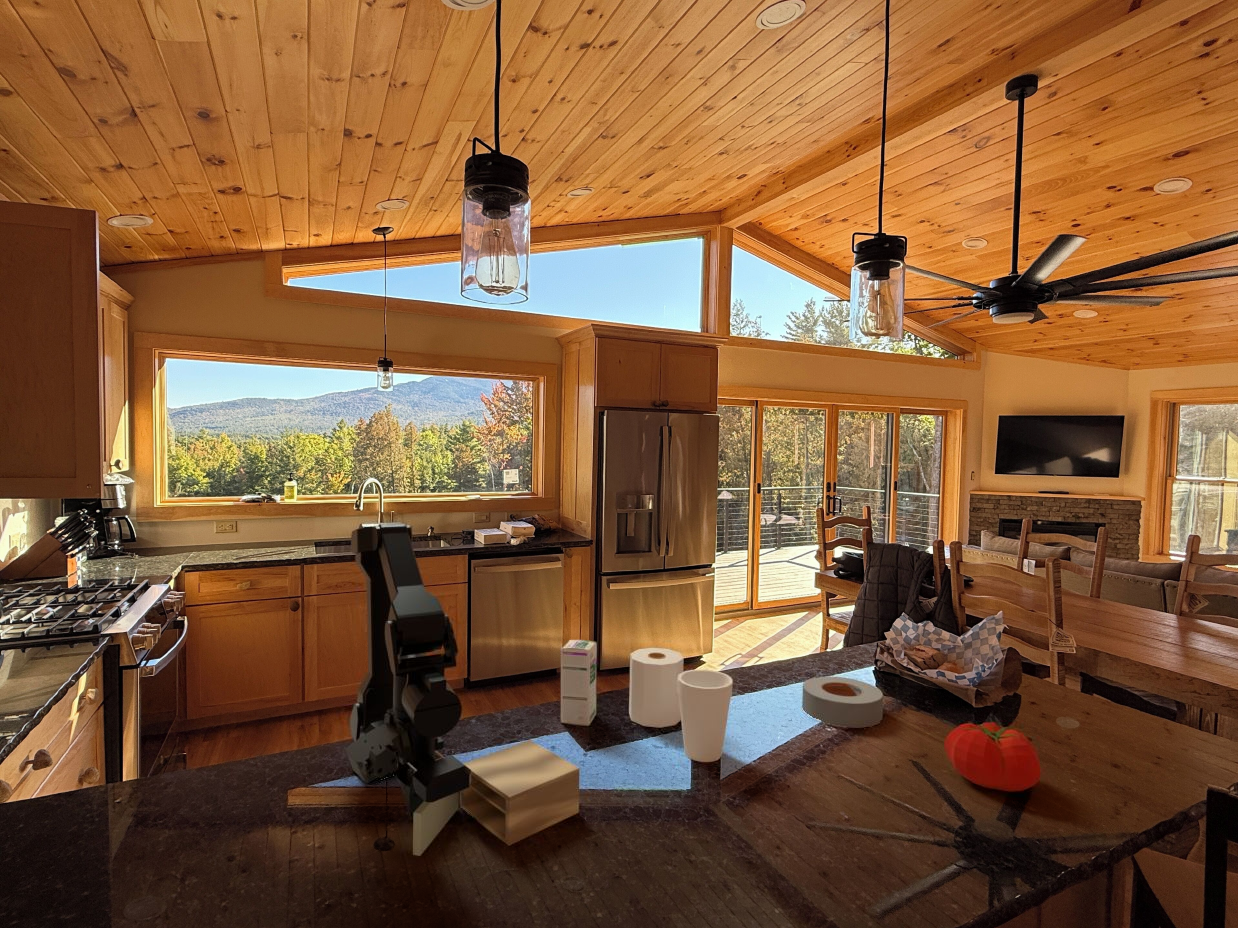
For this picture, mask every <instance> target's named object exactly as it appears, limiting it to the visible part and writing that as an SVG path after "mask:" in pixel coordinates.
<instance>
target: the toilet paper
mask: <svg viewBox="0 0 1238 928" xmlns="http://www.w3.org/2000/svg"><path fill="white" fill-rule="evenodd" d="M629 655H630V656H629V657H630V659H629V661H630V662H629V695H628V696H629V701H628V702H629V704H628V714H629V718H630V720H631V721H632V722H634V723H635V724H638V725H641V726H643V727H652V728H660V729H661V728H664V727H672V726H676V725H677V724H678V723H679V722H681V713H680V703H679V694H678V693H677V683H678V675H679V674H681V673H682V672H684V656H683V655H682V654H681V652H679V651H675V650H673V649H670V648H662V647H661V648H659V647H647V648H640V649H636V650H635V651H633V652H631V653H630V654H629Z"/></svg>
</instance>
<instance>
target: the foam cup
mask: <svg viewBox="0 0 1238 928" xmlns="http://www.w3.org/2000/svg"><path fill="white" fill-rule="evenodd" d="M677 693H678V694H679V703H680V713H681V720H680V722H681V732H682V739H683V740H682V742H683V750H684V755H685V756H686V757H687V758H689V759H691V760H693V761H697V762H701V763H711V762H715V761H718V760H719V759H721V758H720V757H722V753H723V750H724V749H723V747H724V742H725V736H726V729H727V724H728V717H729V710H730V705H731V704H730V703H731V698H732V697H733V677H731V676H729V675H728V674H726V673H724V672H721V671H716V670H710V669H690V670H689V669H688V670H685V671H684V670H683V672H682V673H681V674H679V675H678V683H677Z"/></svg>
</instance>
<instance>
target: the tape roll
mask: <svg viewBox="0 0 1238 928" xmlns="http://www.w3.org/2000/svg"><path fill="white" fill-rule="evenodd" d="M801 699H802V701H801V703H802V704H801V709H802V708H803V710H804V711H805V712H806V713H807V714H809V715H810V716H812V717H813V718H816V719H819V720H821V721H823V722H826V723H830V724H834V725H840V726H846V727H864V726H872V725H874V724H877V723H879V722H880V721H881V720H882V721H883V719H882V718H884V717H883V715H884V714H883V712H884V711H883V710H884V709H883V708H884V694H883V692H882V691H881V689H880V688H878V687H876V686H875V685H872V684H870V683H867V682H865V681H862V680H859V679H858V680H857V679H854V678H848V677H842V676H820V677H812V678H809V679H807V680H805V681H804V682H803V683H802V698H801ZM803 710H802V711H803Z"/></svg>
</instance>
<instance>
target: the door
mask: <svg viewBox="0 0 1238 928" xmlns="http://www.w3.org/2000/svg"><path fill="white" fill-rule="evenodd" d="M459 808H461V791H459V792H457V793H454V794H452V795H449V796H447V797H445V798H442V799H440V800H437V801H435V802H432V803H431V802H425V801H424V802H423V803H422V804H421V805H420V806H419V807H418V808H417V809H416V811H415V812H414V813H413V818H412V819H413V821H412V822H413V824H412V825H413V826H412V827H413V829H412V831H413V832H412V838H413V839H412V855H413V856H418V857H420V856H422V854H423V853H424V852H425V850H427V848H428V847H429V846H430V844H431V843H432V842H433V841H434V839H436V837H437V836H438V834H439V833H440V832H441V830H443V828H444V827H445V825H446V824H447V823H448V822H449V820H451V818H452V817H453V816H454V815H455V813H456V811H458V809H459Z"/></svg>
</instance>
